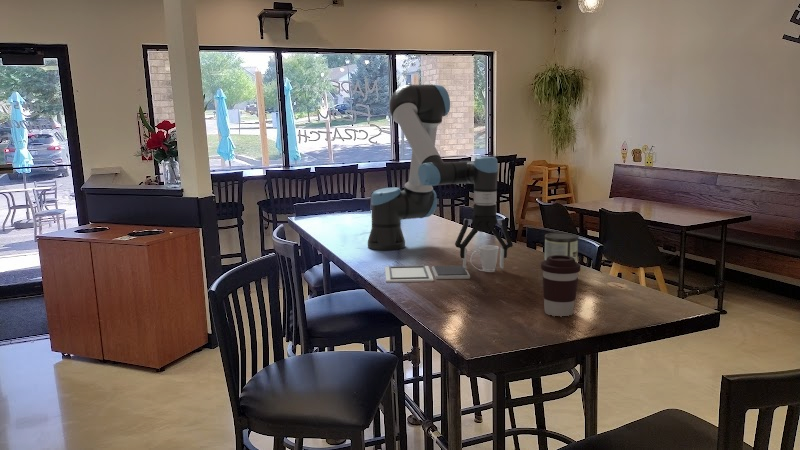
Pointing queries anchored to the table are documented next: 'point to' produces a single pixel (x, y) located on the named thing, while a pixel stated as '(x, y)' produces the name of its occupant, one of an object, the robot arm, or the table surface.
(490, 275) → the table surface
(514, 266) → the table surface
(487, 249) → the cup
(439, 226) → the table surface
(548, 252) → the coffee can
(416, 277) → the board
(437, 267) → the ink pad
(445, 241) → the table surface
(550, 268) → the coffee cup
